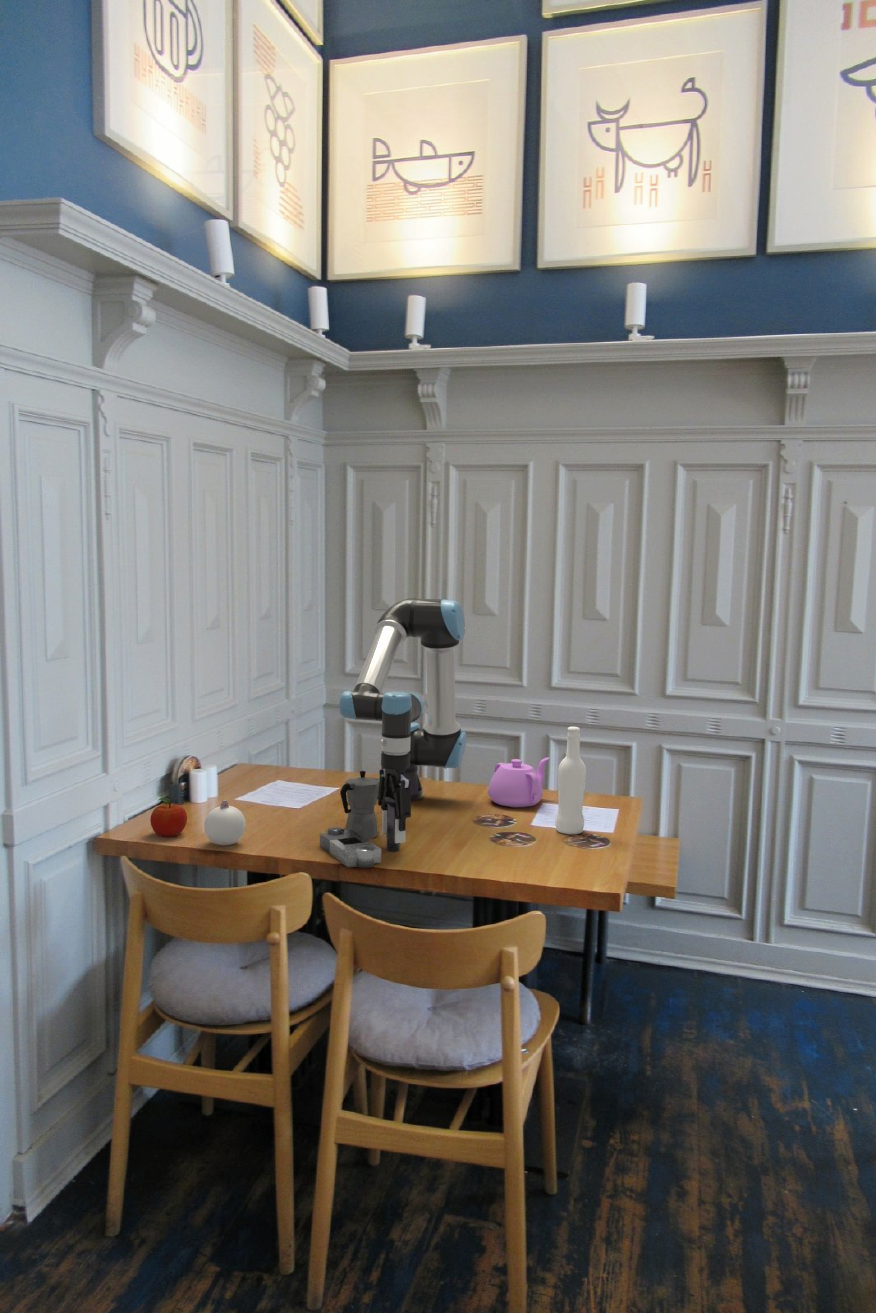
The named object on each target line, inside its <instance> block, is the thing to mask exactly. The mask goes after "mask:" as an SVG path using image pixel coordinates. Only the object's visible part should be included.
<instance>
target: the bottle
mask: <svg viewBox="0 0 876 1313" xmlns="http://www.w3.org/2000/svg"><path fill="white" fill-rule="evenodd" d="M566 736H567V740H566V742H567V744H566V754H565V757H564V758H563V759H562V760H561V762H560V763H559V765H558V768H557V788H558V789H557V793H558V794H557V796H558V804H557V805H558V808H557V814H556V817H555V823H554V825H555V829H556V831H557V832H559V833H560V834H564V835H578V834H581V833H583V831H584V827H585V818H584V815H583V813H584V812H583V810H584V809H583V806H584V796H585V787H586V781H587V780H586V779H587V778H586V777H587V766H586V764H585V762H584V761H583V760H582V758H581V756H580V755H581V752H580V751H581V750H580V749H581V747H580V746H581V738H582V737H581V729H580V727H578V726H568V727H567V735H566Z"/></svg>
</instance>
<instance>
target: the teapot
mask: <svg viewBox="0 0 876 1313" xmlns="http://www.w3.org/2000/svg"><path fill="white" fill-rule="evenodd" d="M550 758H551V757H550V756H549V757H548V756H547V757H544V758H542V759H541V760H540V761H539V764H538V766H537V770H535V769H534V767H533V766H532V765H529V764H526V763H523V760H522V759H518V758H513V759H511V760H510V761H511V763H510V762H508V763H504V762H498V763H497V764H495V766H494V774H493V776H492V777H491V779H490V781H489V784H488V789H487V794H488V797H489V798H490V799H491V801H492V802H493V803H495V804H497V805H500V806H505V807H509V808H511V809H513V808H514V809H515V808H527V807H533V806H536V805H537V804H539V802H540V801H541V800H542V798H543V796H544V793H543V792H544V790H543V785H544V783H545V778H546V777H545V767H546V764H547V762H548V761H549V759H550Z"/></svg>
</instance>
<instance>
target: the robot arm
mask: <svg viewBox="0 0 876 1313" xmlns="http://www.w3.org/2000/svg"><path fill="white" fill-rule="evenodd" d="M465 627H466V621H465V614H464V610H463V607H462V605H461V603H460V602H458V601H457V600H450V599H449V600H448V599H445V598H443V599H437V598H435V599H434V598H416V597H414V598H412V597H410V598H405V599H402V600H399V601H398V602H395V603H394V604H393V605H391V606H390V607H388V609H386V611H384V613H383V614H382V615H381V616H380V617H379V619H378V621H377V623H376V625H375V628H374V634H375V635H374V636H375V637H374V639H373V642H372V643H371V646H370V648H369V651H368V654H367V656H366V659H365V661H364V663H363V667H362V668H361V671H360V674H359V676H358V679H357V681H356V684H355V686H354V687H353V688H354V689H353V691H352V690H345V691H344V692H342V693H341V695H340V697H339V703H338V704H339V705H338V706H339V707H338V708H339V712H340V716H341V717H342V718H343V719H348V720H356V721H358V720H359V721H360V720H361V721H371V722H372V721H375V722H381V740H380V745H381V748H380V749H381V753H380V766H381V769H379V771H378V772H379V773H378V774H379V776H378V779H379V780H378V781H380V783H379V789H378V795H377V800H378V801H377V805H378V806H379V807H380V809H381V811H382V812H381V814H382V816H381V835H382V836H387V803H386V802H385V801H384V797H385V796H387V795H394V796H395V804H396V811H397V817H395V843H400V844H402V843H406V833H407V832H406V830H407V828H406V826H407V819H408V818H412V802H414V801H418V800H421V799H422V798H423V795H424V790H423V786H422V783H421V779H420V776H419V772H418V770H419V767H428V768H429V767H431V768H442V769H458V768H459V767H460V766H461V764H462V762H463V759H464V756H465V752H466V745H467V739H468V738H467V737H468V736H467V732H465V731H461V730H462V728H461V726H462V725H461V723H459V722H458V721H457V720H456V682H455V681H456V678H455V677H456V676H455V672H456V671H455V666H456V665H455V649H456V648H457V647H458V646H459V644H460V640H463V639H464V637H465V633H466V632H465V630H466V629H465ZM407 638H418V639H419V638H420V645H421V647H422V648H424V649H425V658H426V659H425V661H426V665H425V666H426V668H425V669H426V692H427V694H426V696H427V699H426V700H427V721H426V722H425V723H424V724H423V727H422V728H420V724H419V723H418V722H416V721H418V720H419V718H421V716H422V715H423V712H424V709H425V705H424V702H423V700H422V698H421V697H420V696H419V695H418V694H416V693H413V692H410V693H409V692H405V691H388V692H385V693H383V689H384V687H385V684H386V681H387V679H388V676H389V674H390V671H391V669H392V667H393V663H394V662H395V661H394V660H395V659H396V656H397V653H398V651H399V648H400V646H401V645H402V644H404V643H405V641H406V639H407Z"/></svg>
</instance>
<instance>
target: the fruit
mask: <svg viewBox="0 0 876 1313" xmlns="http://www.w3.org/2000/svg"><path fill="white" fill-rule="evenodd" d="M157 801H163V802H164V803H165V804H160V805H158V806H156V807H155V808H154V809H153V810H152V812H151V815H150V818H149V820H150V826H151V829H152V831H153V832H154V833H155V834H156V835H158V836H160V837H164V838H168V837H169V838H170V837H172V838H173V837H175V835H176V836H177V835H179V834H181V833H182V832H183V830H184V829H185V828H186V825H187V823H188V814H187V811H186V809H185V808H184V807H183V806H182V805H180V804H176V803H172V801H170V799H169V798H168V797H162V798H159V799H158V800H157Z"/></svg>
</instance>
